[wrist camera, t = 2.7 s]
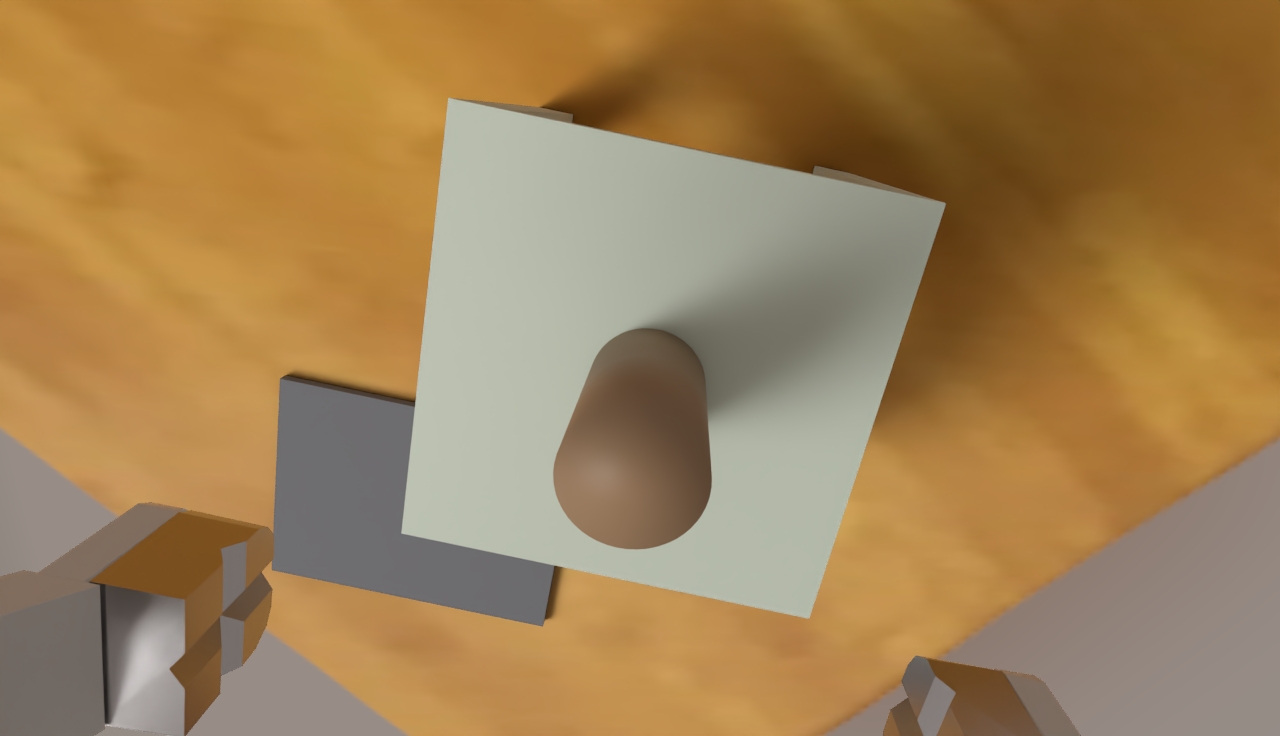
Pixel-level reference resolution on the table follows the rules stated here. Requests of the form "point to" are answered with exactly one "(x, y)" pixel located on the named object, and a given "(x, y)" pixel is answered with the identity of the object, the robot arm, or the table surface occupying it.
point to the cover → (653, 354)
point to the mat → (377, 510)
